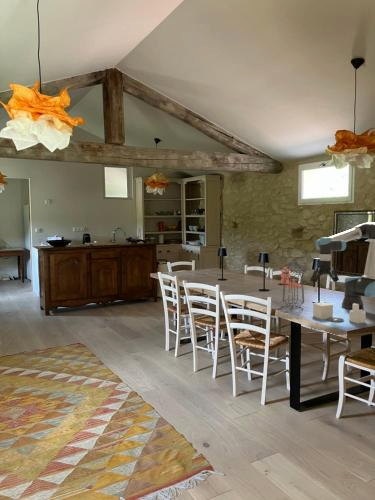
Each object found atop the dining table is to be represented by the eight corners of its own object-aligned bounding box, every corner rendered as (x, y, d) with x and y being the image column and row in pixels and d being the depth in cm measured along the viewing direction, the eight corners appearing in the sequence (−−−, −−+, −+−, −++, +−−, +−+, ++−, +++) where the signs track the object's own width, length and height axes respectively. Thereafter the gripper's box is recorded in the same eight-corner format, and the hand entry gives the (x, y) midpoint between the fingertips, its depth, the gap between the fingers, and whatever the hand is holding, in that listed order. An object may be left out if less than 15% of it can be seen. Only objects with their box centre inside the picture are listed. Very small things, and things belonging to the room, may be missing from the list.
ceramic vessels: (309, 290, 372) (309, 270, 370) (288, 290, 368) (288, 271, 366) (292, 284, 406) (293, 266, 405) (273, 285, 402) (273, 266, 401)
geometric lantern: (289, 310, 287) (290, 263, 285) (278, 306, 302) (279, 261, 300) (308, 309, 291) (309, 262, 289) (296, 304, 306) (297, 260, 304)
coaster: (338, 318, 264) (338, 316, 264) (347, 321, 254) (347, 320, 254) (324, 318, 261) (324, 317, 261) (333, 322, 252) (333, 321, 252)
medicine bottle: (356, 320, 258) (357, 302, 257) (365, 322, 252) (366, 304, 251) (348, 321, 256) (349, 303, 255) (357, 323, 249) (357, 305, 248)
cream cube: (323, 315, 272) (323, 302, 272) (332, 318, 264) (332, 304, 263) (312, 316, 269) (313, 303, 268) (321, 319, 261) (321, 306, 260)
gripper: (338, 259, 269) (337, 289, 271) (305, 260, 264) (304, 291, 265) (344, 260, 262) (344, 291, 263) (311, 261, 257) (310, 293, 258)
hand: (324, 291), depth 264 cm, fingers open, 13 cm apart
